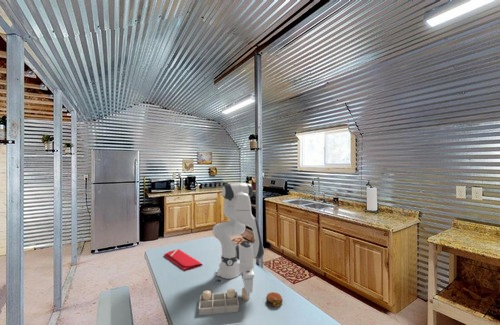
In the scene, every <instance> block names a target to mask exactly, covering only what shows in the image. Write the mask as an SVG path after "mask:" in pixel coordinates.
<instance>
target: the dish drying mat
mask: <svg viewBox="0 0 500 325" xmlns="http://www.w3.org/2000/svg"><path fill="white" fill-rule="evenodd" d="M163 257H165V258H166V259H167V260H168V261H170V262H171V263H172V264H174V265H175V266H176V267H177V268H179V269H181V270H182V271H184V272H186V271H187V272H188V271H190V270H193V269H197V268H199V267H203V263H202V262H200V261H198V260H197V259H196V258H194V257H192V256H191V255H189V254H187V253H186V252H184V251H182V250H181V249H180V248H179V249H174V250H170V251H168V252H166V253H164V254H163Z"/></svg>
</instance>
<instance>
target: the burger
mask: <svg viewBox="0 0 500 325" xmlns="http://www.w3.org/2000/svg"><path fill="white" fill-rule="evenodd" d="M266 303H267V304H268V305H269V306H270V307H275V308H278V307H281V306H282V304H283V296H282V295H281V294H280V293H278V292H268V293H267V294H266Z"/></svg>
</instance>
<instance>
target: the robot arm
mask: <svg viewBox="0 0 500 325" xmlns="http://www.w3.org/2000/svg"><path fill="white" fill-rule="evenodd" d="M253 187H254V186H253V185H252V184H251V183H248V182H247V183H246V182H245V183H244V182H235V183H234V182H233V183H225V184H223V186H222V188H221V195H222V197H223V198H224V200H223V201H224V202H223V215H224V216H225V217H226V218H228V219H229V220H228V221H224V222H219V223H216V224H214V225H213V227H212V235H213V236H214V237H215V238H216V239H217V240H218V241H219V242H220V245H221V257H220V259H221V261H220V262H219V263H218V267H219V268H218V270H217V272H216V276H218V277H220V278H223V279H235V278H237V277H239V276H241V279H242V283H243V288H244V287H245V291H246V297H247V298H249V297H250V296H251V295H250V294H251V293H253V290H254V289H253V288H254V278H255V274H254V273H255V271H254V270H255V266H254V265H255V263H254V259H255V260H260V259H261V258H263V256H264V255H265V248H264V246H263V241H262V236H261V232H260V227H259V226H260V225H259V223H258V220H257V218H256V217H255V216H254V215H253V214H252V202H251V197H252V196H253V193H254V188H253ZM247 226H248V227H250V228H251V230H252V232H253V238H254V242H252V241H249V240H243V241H241V242H240V243H236V242H235V241H234V240H231V237H235V236H240V235H242V234H243V233H245V230H246V227H247ZM250 298H251V297H250ZM250 298H249V299H250Z"/></svg>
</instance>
